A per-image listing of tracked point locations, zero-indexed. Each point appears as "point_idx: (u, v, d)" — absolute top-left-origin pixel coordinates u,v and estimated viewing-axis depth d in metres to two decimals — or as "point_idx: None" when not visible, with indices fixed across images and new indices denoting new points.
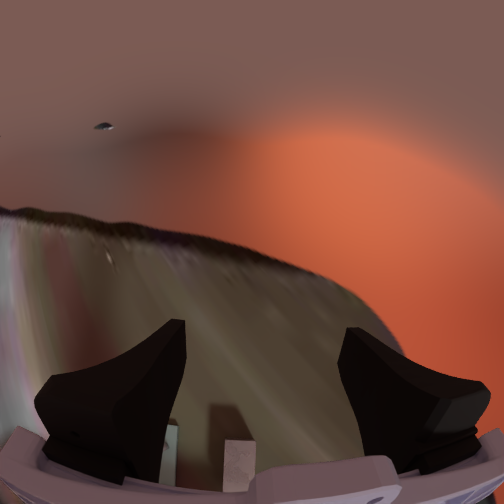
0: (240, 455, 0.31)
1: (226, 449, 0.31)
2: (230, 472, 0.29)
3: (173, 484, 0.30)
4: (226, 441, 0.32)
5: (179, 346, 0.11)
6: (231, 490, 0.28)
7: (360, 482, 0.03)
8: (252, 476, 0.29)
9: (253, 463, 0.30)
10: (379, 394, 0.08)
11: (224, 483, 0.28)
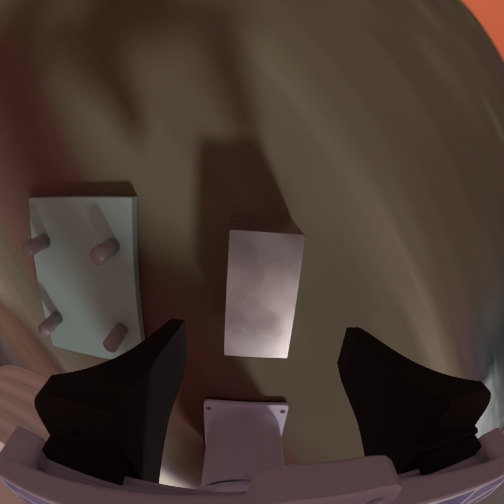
0: (265, 271, 0.16)
1: (232, 255, 0.16)
2: (241, 312, 0.17)
3: (137, 323, 0.21)
4: (233, 234, 0.15)
5: (179, 346, 0.11)
6: (241, 351, 0.17)
7: (360, 482, 0.03)
8: (288, 321, 0.17)
9: (293, 291, 0.16)
10: (379, 394, 0.08)
11: (227, 336, 0.17)
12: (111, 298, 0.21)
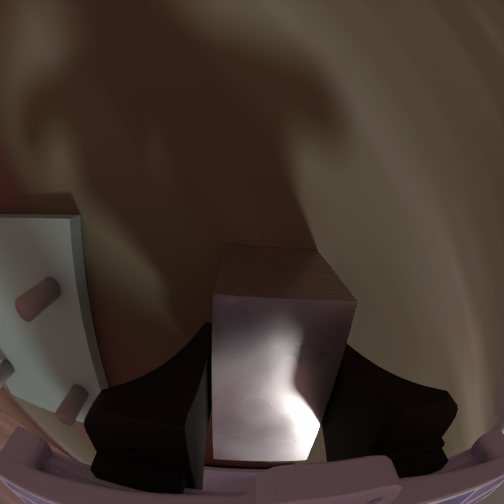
0: (281, 363, 0.08)
1: (220, 339, 0.08)
2: (238, 416, 0.09)
3: (97, 387, 0.14)
4: (219, 302, 0.08)
5: None
6: (240, 456, 0.10)
7: (360, 482, 0.02)
8: (313, 424, 0.09)
9: (327, 388, 0.09)
10: (339, 398, 0.08)
11: (217, 441, 0.10)
12: (61, 355, 0.13)
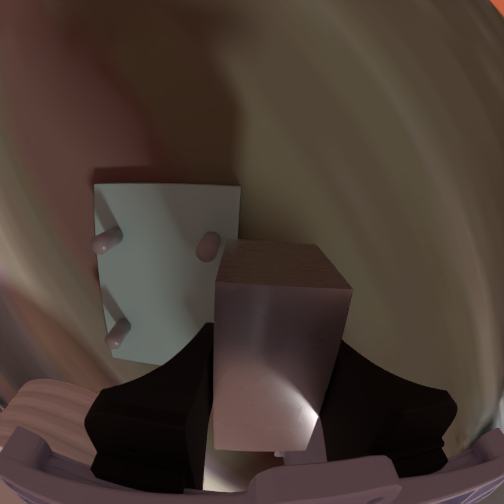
0: (280, 350, 0.09)
1: (222, 325, 0.08)
2: (239, 405, 0.09)
3: None
4: (221, 290, 0.08)
5: None
6: (240, 446, 0.10)
7: (360, 482, 0.02)
8: (312, 413, 0.10)
9: (325, 376, 0.09)
10: (339, 398, 0.08)
11: (218, 430, 0.10)
12: (202, 300, 0.20)
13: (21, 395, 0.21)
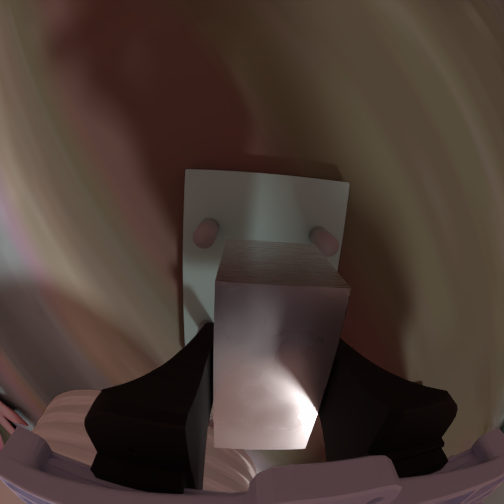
0: (279, 348, 0.09)
1: (221, 324, 0.09)
2: (238, 403, 0.10)
3: None
4: (221, 289, 0.08)
5: None
6: (240, 444, 0.10)
7: (360, 482, 0.03)
8: (311, 411, 0.10)
9: (324, 374, 0.09)
10: (339, 398, 0.08)
11: (218, 429, 0.10)
12: None
13: (59, 409, 0.20)
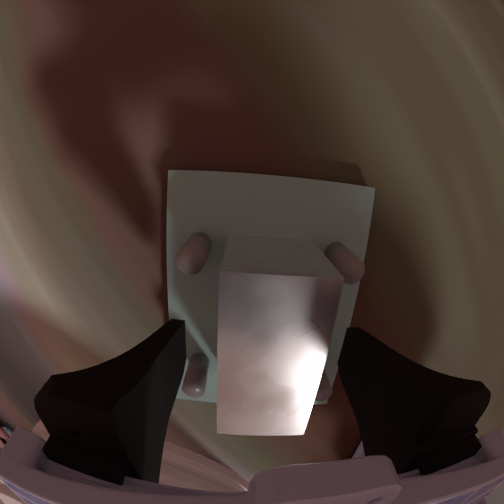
0: (279, 334, 0.10)
1: (225, 311, 0.09)
2: (240, 387, 0.10)
3: (339, 354, 0.16)
4: (225, 279, 0.09)
5: (179, 346, 0.11)
6: (241, 430, 0.11)
7: (360, 482, 0.03)
8: (309, 396, 0.11)
9: (320, 360, 0.10)
10: (379, 394, 0.08)
11: (221, 414, 0.11)
12: None
13: (43, 436, 0.16)
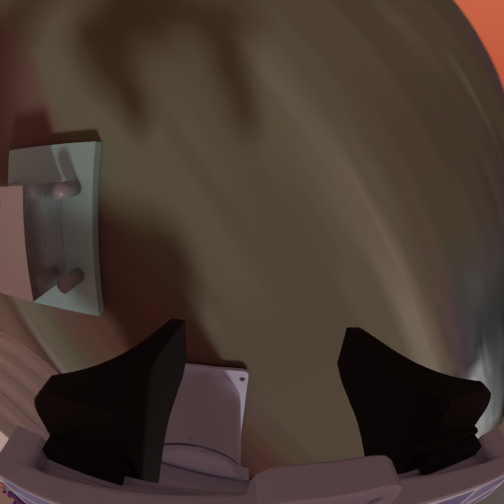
0: (6, 218, 0.14)
1: None
2: (0, 254, 0.15)
3: (92, 267, 0.20)
4: None
5: (179, 346, 0.11)
6: (7, 290, 0.16)
7: (360, 482, 0.03)
8: (25, 264, 0.15)
9: (22, 236, 0.15)
10: (379, 394, 0.08)
11: None
12: (70, 241, 0.20)
13: None
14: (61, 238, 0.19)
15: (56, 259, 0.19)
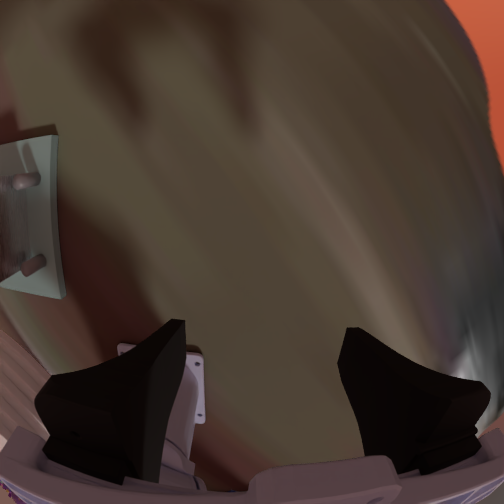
0: None
1: None
2: None
3: (52, 252, 0.20)
4: None
5: (179, 346, 0.11)
6: None
7: (360, 482, 0.03)
8: None
9: None
10: (379, 394, 0.08)
11: None
12: (34, 229, 0.19)
13: None
14: (26, 226, 0.19)
15: (21, 246, 0.19)
